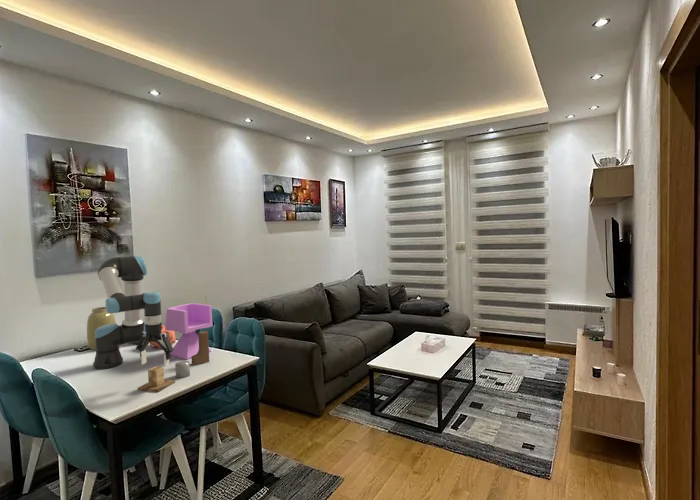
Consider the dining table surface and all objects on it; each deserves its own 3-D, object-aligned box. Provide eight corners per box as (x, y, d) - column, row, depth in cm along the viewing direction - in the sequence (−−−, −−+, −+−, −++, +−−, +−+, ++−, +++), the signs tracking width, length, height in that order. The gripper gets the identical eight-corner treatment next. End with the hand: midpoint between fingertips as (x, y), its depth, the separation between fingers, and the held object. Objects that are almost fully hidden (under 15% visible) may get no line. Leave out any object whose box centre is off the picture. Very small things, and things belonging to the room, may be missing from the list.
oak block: (148, 385, 197) (147, 370, 196) (155, 381, 202) (155, 366, 201) (157, 386, 196) (156, 370, 195) (164, 382, 200) (163, 367, 200)
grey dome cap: (173, 377, 210) (172, 365, 209) (181, 373, 217) (180, 360, 216) (184, 378, 208) (183, 365, 208) (192, 373, 215) (192, 361, 214)
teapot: (144, 346, 269) (143, 325, 268) (162, 341, 279) (160, 321, 278) (162, 351, 257) (161, 329, 256) (180, 345, 267) (179, 325, 266)
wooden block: (194, 365, 228) (192, 335, 227) (191, 363, 231) (190, 333, 230) (209, 361, 234) (208, 332, 233) (206, 360, 237) (205, 330, 236)
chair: (186, 360, 236) (184, 311, 235) (166, 355, 247) (164, 308, 245) (213, 351, 253) (211, 305, 251) (194, 347, 264) (191, 302, 262)
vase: (107, 351, 259) (105, 310, 257) (81, 351, 259) (79, 311, 258) (122, 343, 276) (120, 305, 275) (98, 343, 276) (96, 305, 275)
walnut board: (137, 390, 194) (137, 387, 194) (155, 380, 206) (155, 378, 206) (158, 392, 191) (158, 389, 191) (174, 382, 203) (174, 380, 203)
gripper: (126, 323, 196) (128, 365, 198) (169, 326, 190) (171, 369, 192) (138, 320, 203) (140, 360, 205) (179, 322, 197) (181, 363, 199)
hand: (155, 364), depth 198 cm, fingers open, 13 cm apart
